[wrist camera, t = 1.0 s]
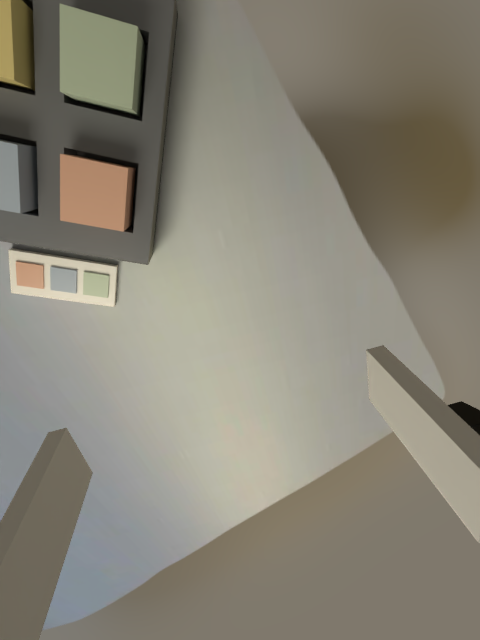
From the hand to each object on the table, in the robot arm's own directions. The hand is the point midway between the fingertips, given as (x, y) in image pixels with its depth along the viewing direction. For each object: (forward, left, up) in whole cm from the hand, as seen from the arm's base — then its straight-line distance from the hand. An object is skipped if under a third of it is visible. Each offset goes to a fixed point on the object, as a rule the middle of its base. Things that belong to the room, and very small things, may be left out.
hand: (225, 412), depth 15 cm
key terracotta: (-9, +6, -18) cm, 22 cm away
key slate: (-16, +6, -18) cm, 25 cm away
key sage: (-9, +14, -18) cm, 25 cm away
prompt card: (-13, -2, -20) cm, 24 cm away
